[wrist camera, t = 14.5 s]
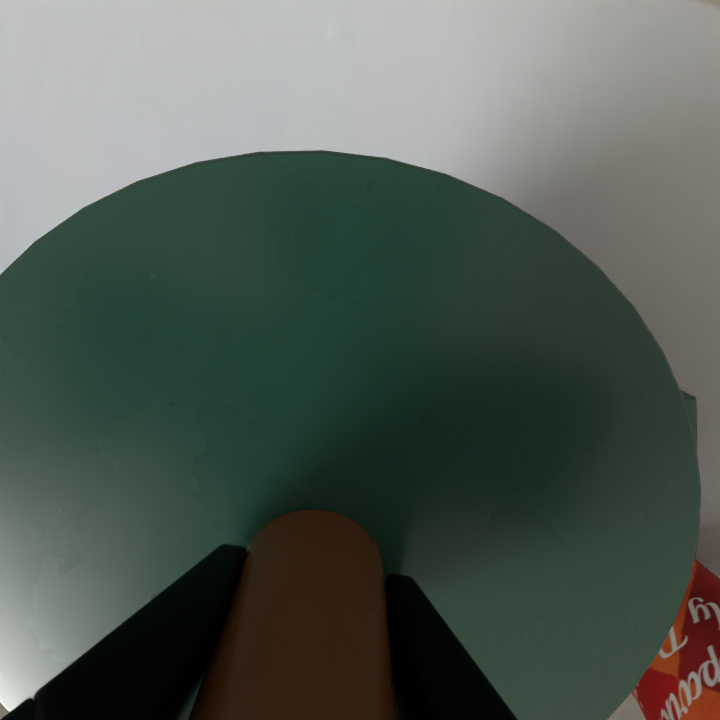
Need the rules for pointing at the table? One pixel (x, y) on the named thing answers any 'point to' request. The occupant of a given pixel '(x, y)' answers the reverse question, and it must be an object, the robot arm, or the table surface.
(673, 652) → the paper cup
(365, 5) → the table surface
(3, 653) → the pot lid
